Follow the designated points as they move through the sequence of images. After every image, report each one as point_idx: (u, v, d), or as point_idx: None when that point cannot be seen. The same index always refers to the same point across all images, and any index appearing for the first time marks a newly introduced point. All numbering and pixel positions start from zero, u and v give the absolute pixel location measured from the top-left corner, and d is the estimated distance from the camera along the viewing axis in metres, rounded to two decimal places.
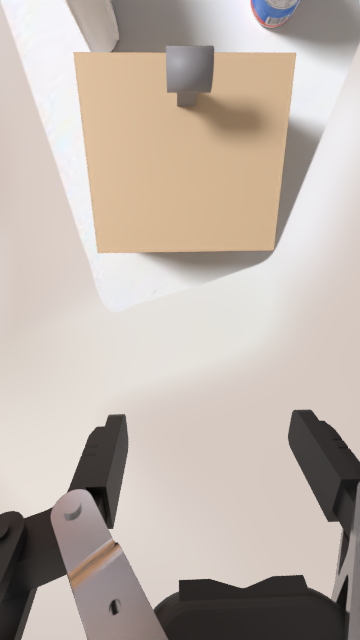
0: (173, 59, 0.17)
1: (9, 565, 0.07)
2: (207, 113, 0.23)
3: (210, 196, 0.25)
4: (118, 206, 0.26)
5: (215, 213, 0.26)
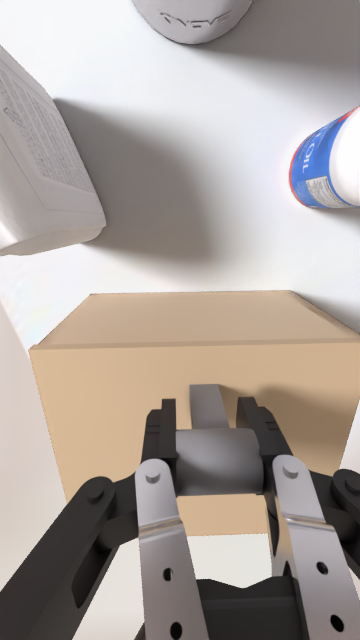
0: (190, 487, 0.10)
1: (96, 526, 0.08)
2: (235, 408, 0.15)
3: None
4: None
5: (241, 501, 0.18)
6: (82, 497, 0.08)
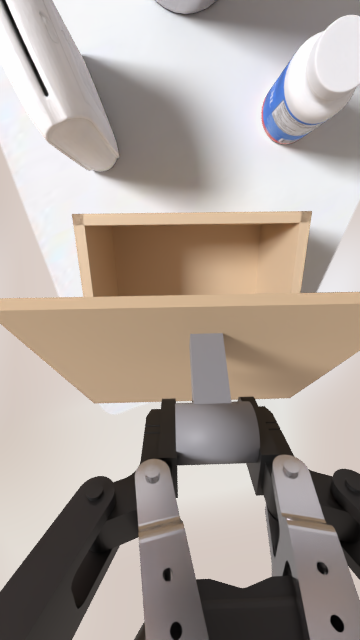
0: (188, 464, 0.10)
1: (96, 526, 0.08)
2: (238, 347, 0.14)
3: None
4: (111, 389, 0.21)
5: (230, 388, 0.21)
6: (82, 497, 0.08)
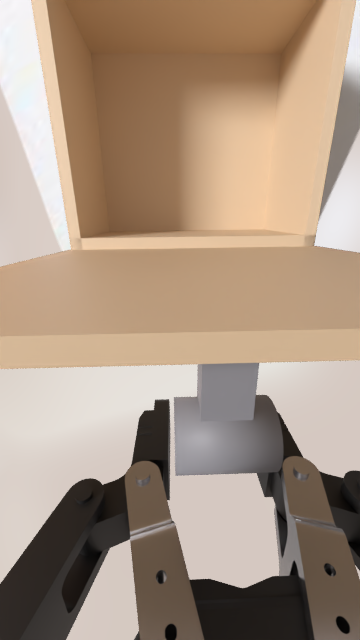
0: None
1: (86, 528, 0.07)
2: None
3: None
4: None
5: None
6: (70, 500, 0.08)
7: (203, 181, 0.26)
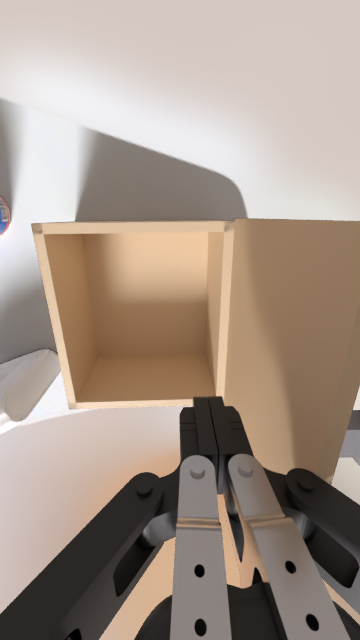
0: None
1: (142, 522, 0.08)
2: None
3: None
4: None
5: None
6: (132, 489, 0.08)
7: (169, 284, 0.32)
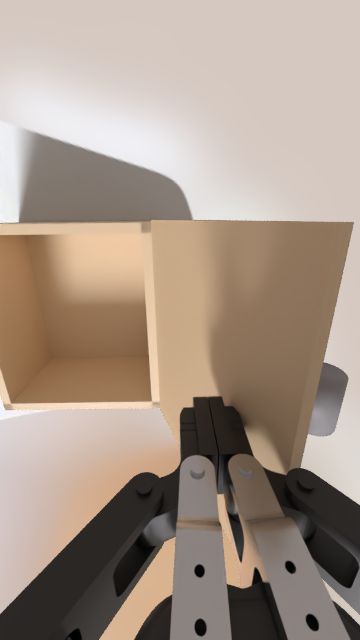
0: None
1: (142, 522, 0.08)
2: None
3: None
4: None
5: None
6: (132, 489, 0.08)
7: (117, 285, 0.32)
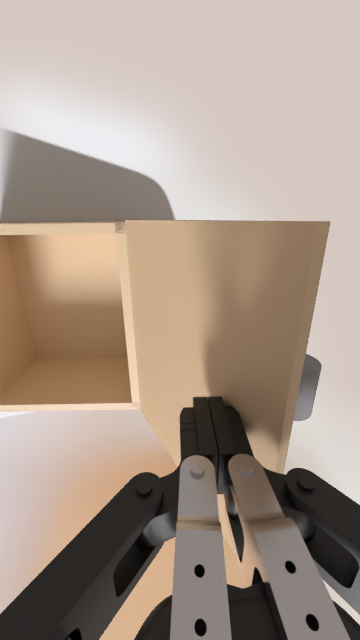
0: None
1: (142, 522, 0.08)
2: None
3: None
4: None
5: None
6: (132, 489, 0.08)
7: (100, 286, 0.32)
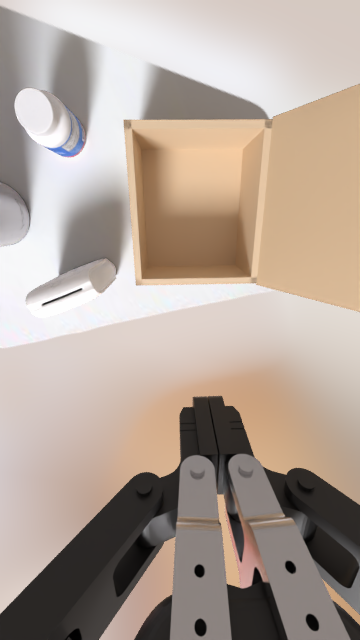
0: None
1: (142, 522, 0.08)
2: None
3: None
4: None
5: None
6: (132, 489, 0.08)
7: (209, 199, 0.39)
